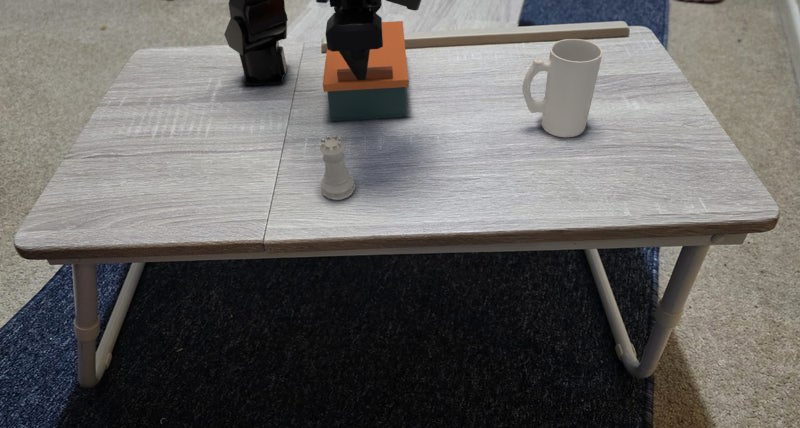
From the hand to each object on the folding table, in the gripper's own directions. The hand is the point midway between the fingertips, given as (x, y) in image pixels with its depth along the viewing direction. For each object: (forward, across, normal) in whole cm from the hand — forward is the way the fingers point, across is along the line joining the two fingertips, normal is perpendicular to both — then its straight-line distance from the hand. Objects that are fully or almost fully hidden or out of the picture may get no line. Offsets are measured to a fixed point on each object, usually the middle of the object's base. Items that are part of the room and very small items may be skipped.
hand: (361, 69), depth 75 cm
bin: (+12, +16, 0) cm, 20 cm away
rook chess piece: (+12, -10, +4) cm, 16 cm away
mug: (+12, +2, -27) cm, 30 cm away
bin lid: (+6, +16, 0) cm, 17 cm away
